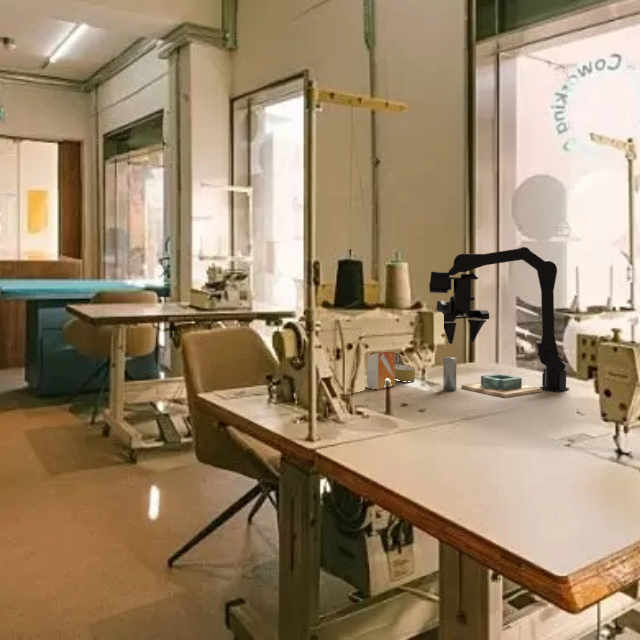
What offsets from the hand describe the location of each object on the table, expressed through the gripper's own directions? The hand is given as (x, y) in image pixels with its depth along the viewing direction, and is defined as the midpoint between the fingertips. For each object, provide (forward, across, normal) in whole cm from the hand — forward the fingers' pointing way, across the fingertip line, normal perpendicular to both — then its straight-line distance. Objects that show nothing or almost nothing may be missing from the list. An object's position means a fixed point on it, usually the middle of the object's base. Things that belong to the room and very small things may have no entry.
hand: (461, 342), depth 237 cm
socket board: (+14, -5, +12) cm, 19 cm away
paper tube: (+14, +10, -16) cm, 23 cm away
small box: (+14, +24, -12) cm, 30 cm away
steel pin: (+14, +8, +4) cm, 16 cm away
